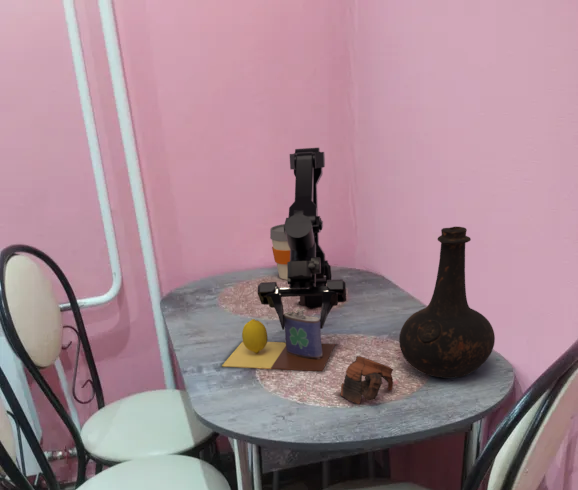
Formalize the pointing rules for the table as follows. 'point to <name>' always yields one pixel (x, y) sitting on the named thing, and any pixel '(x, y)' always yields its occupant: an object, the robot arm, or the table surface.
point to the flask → (303, 335)
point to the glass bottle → (448, 320)
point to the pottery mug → (371, 384)
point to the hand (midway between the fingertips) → (301, 328)
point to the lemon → (254, 336)
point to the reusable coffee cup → (280, 249)
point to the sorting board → (276, 358)
